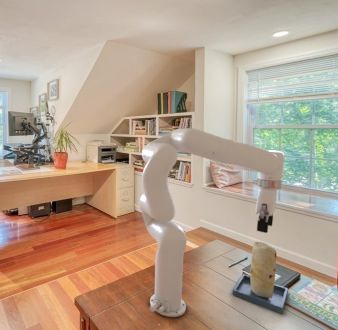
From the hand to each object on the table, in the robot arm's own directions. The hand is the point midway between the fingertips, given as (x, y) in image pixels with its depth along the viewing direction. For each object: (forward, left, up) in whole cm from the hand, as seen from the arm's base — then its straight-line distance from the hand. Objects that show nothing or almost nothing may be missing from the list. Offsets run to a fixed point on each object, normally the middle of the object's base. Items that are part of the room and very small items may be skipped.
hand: (264, 228), depth 96 cm
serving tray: (0, 0, -27) cm, 27 cm away
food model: (0, 0, -27) cm, 27 cm away
